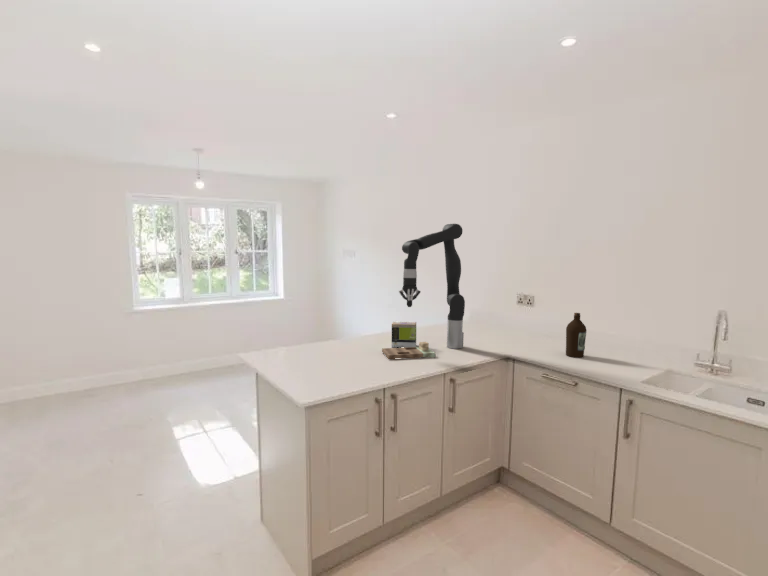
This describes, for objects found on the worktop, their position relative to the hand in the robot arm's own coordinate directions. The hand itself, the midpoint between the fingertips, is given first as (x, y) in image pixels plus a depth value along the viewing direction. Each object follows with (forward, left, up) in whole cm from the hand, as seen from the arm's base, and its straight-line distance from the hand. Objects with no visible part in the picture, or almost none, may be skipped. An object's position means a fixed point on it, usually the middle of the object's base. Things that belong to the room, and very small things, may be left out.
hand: (409, 306), depth 243 cm
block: (-8, +4, -24) cm, 26 cm away
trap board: (+2, +4, -27) cm, 27 cm away
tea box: (-2, -16, -27) cm, 32 cm away
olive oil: (-93, +24, -27) cm, 100 cm away
